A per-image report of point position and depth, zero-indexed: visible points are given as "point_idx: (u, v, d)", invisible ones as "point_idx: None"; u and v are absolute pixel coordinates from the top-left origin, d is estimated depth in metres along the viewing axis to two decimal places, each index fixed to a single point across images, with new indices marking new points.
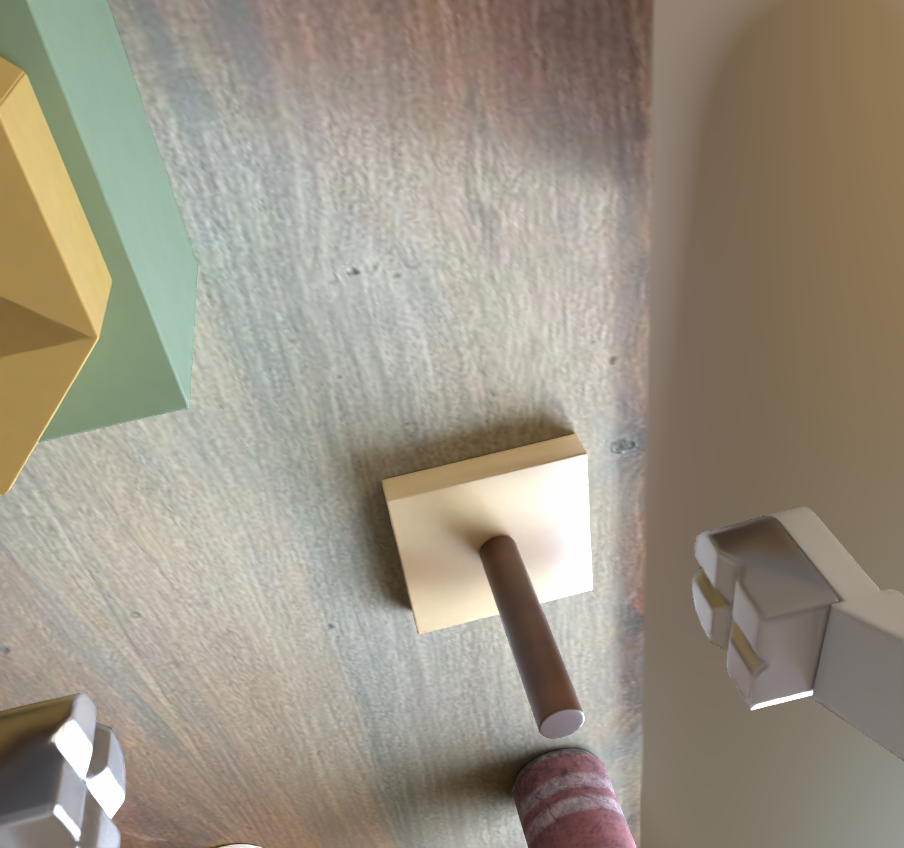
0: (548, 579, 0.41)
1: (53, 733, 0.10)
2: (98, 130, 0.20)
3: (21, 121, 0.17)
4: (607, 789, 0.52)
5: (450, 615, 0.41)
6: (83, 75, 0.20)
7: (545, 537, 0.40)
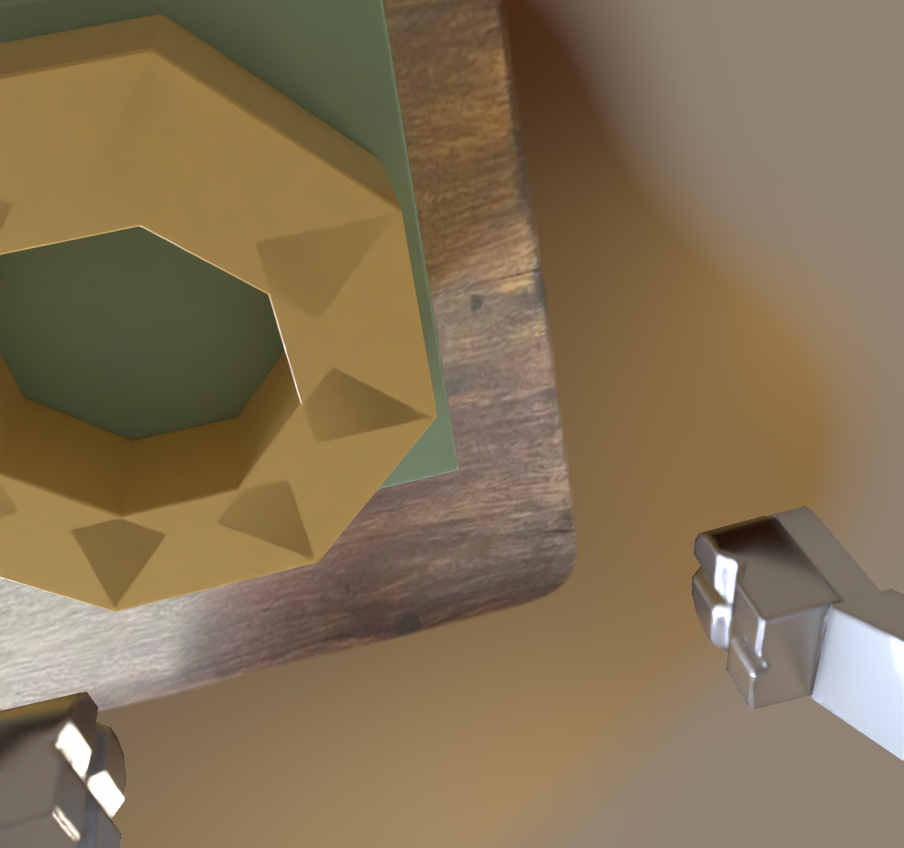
0: None
1: (53, 733, 0.10)
2: None
3: None
4: None
5: None
6: None
7: None
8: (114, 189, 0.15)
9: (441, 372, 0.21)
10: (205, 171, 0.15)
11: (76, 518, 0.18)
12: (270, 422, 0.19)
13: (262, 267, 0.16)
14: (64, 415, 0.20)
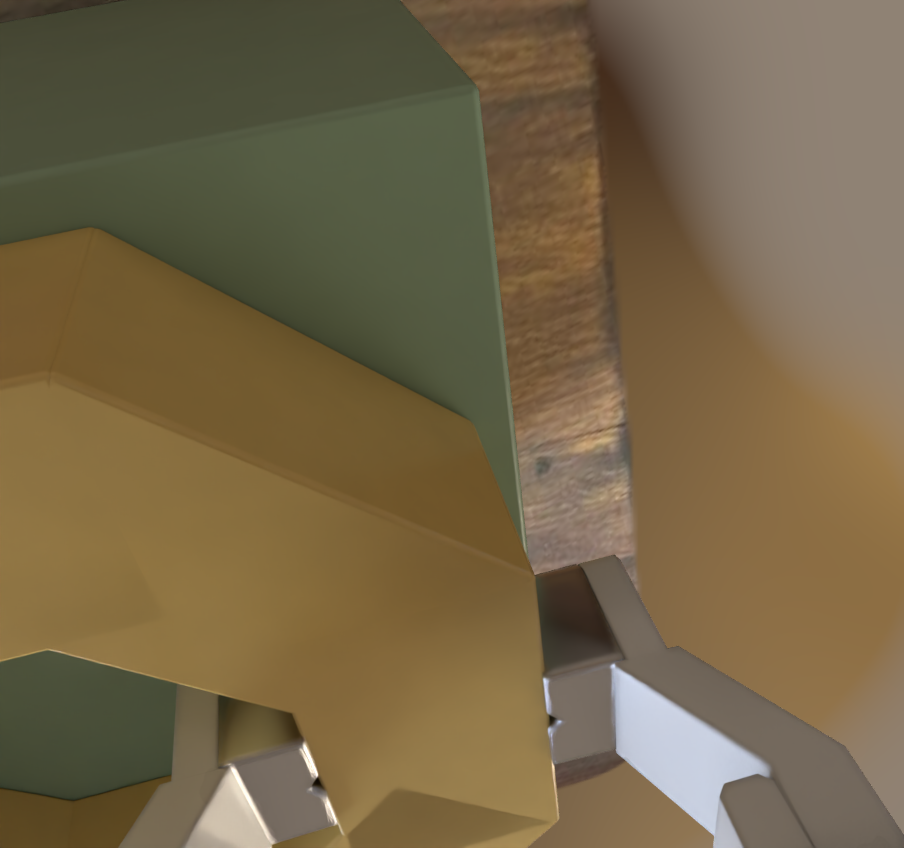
0: None
1: None
2: None
3: None
4: None
5: None
6: None
7: None
8: None
9: None
10: (172, 560, 0.07)
11: None
12: None
13: (281, 680, 0.09)
14: None
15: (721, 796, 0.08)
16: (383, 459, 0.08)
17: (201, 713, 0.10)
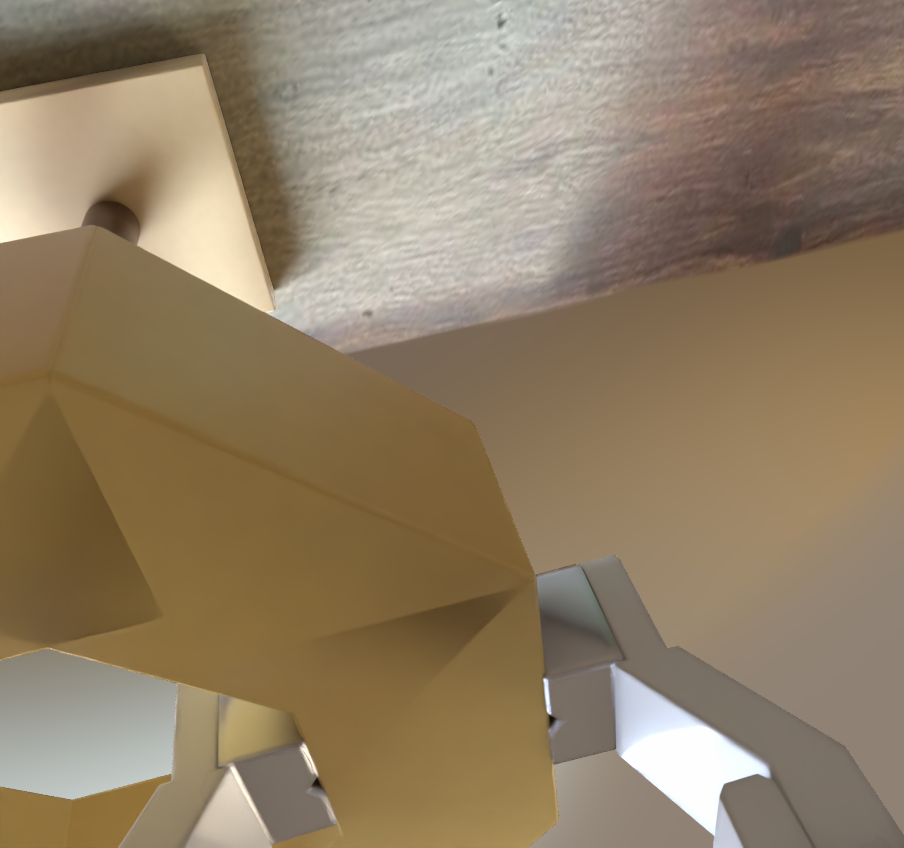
0: None
1: None
2: None
3: None
4: None
5: None
6: None
7: None
8: None
9: None
10: (173, 559, 0.07)
11: None
12: None
13: (281, 680, 0.09)
14: None
15: (721, 796, 0.08)
16: (384, 459, 0.08)
17: (201, 713, 0.10)
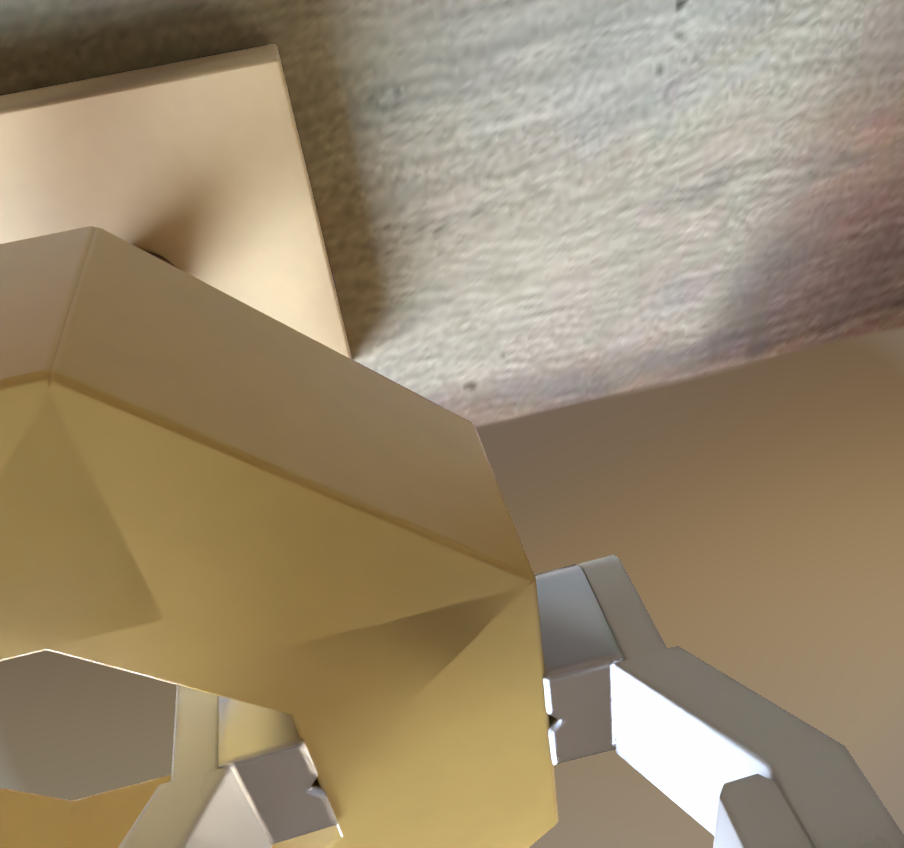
0: None
1: None
2: None
3: None
4: None
5: None
6: None
7: None
8: None
9: None
10: (172, 561, 0.07)
11: None
12: None
13: (280, 682, 0.09)
14: None
15: (721, 796, 0.08)
16: (384, 460, 0.08)
17: (201, 713, 0.10)
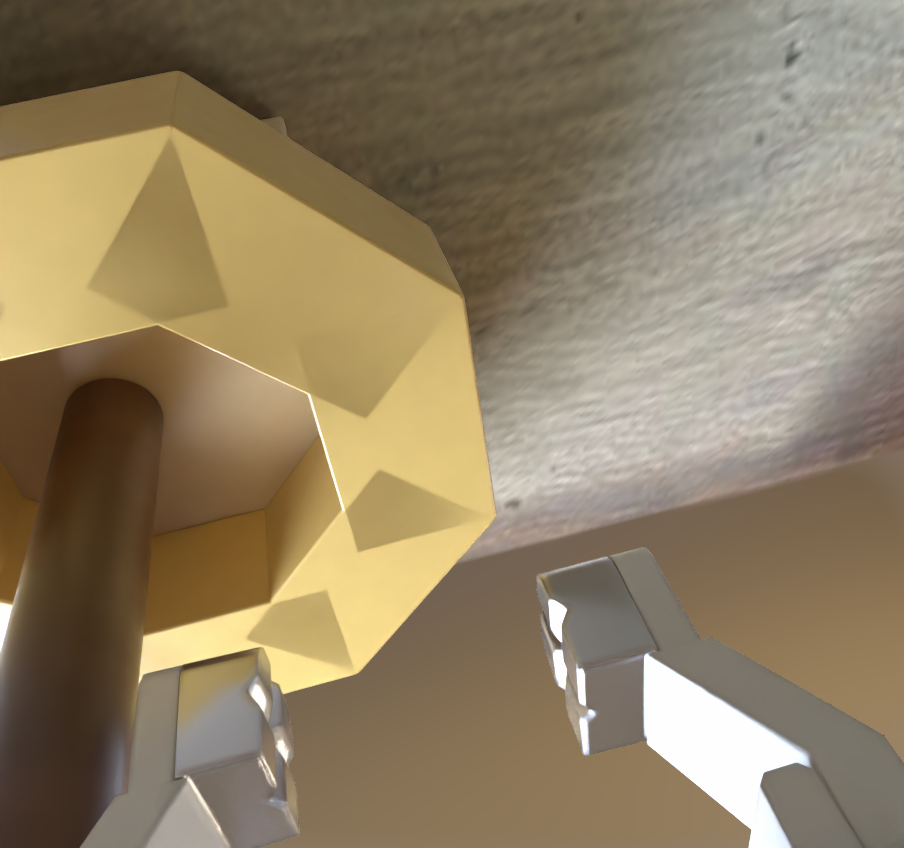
0: None
1: (244, 684, 0.10)
2: None
3: None
4: None
5: None
6: None
7: None
8: (128, 285, 0.12)
9: None
10: (235, 261, 0.12)
11: None
12: (305, 525, 0.16)
13: (301, 365, 0.14)
14: None
15: (761, 785, 0.08)
16: (365, 217, 0.13)
17: (160, 724, 0.10)
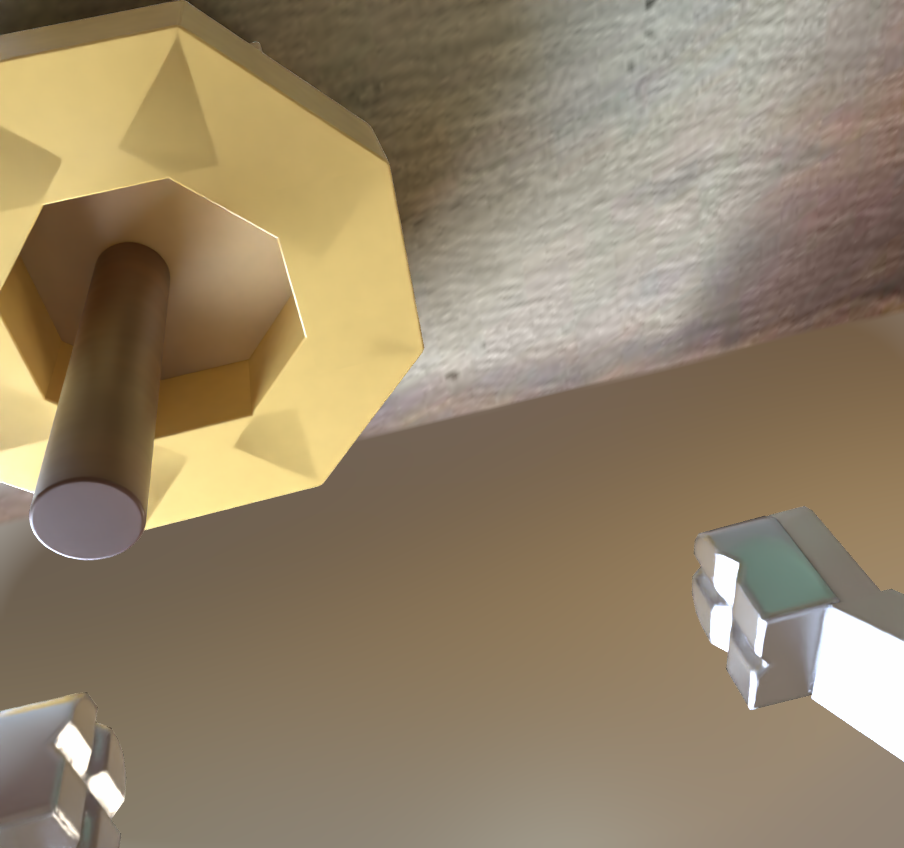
0: None
1: (53, 733, 0.10)
2: None
3: None
4: None
5: None
6: None
7: (162, 349, 0.23)
8: (147, 145, 0.17)
9: None
10: (223, 129, 0.17)
11: None
12: (278, 357, 0.22)
13: (271, 214, 0.19)
14: None
15: None
16: (317, 105, 0.18)
17: None
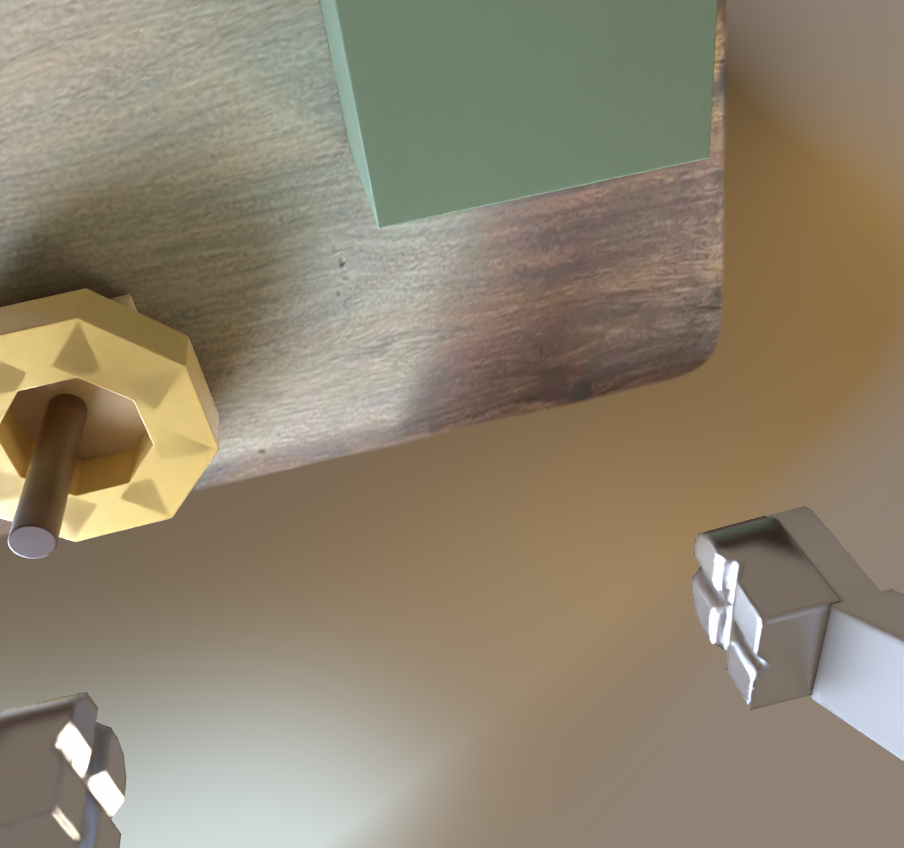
0: None
1: (53, 733, 0.10)
2: None
3: None
4: None
5: None
6: None
7: (85, 444, 0.43)
8: (66, 365, 0.37)
9: (713, 69, 0.31)
10: (102, 356, 0.37)
11: None
12: (143, 452, 0.41)
13: (129, 390, 0.38)
14: None
15: None
16: (150, 339, 0.38)
17: None
